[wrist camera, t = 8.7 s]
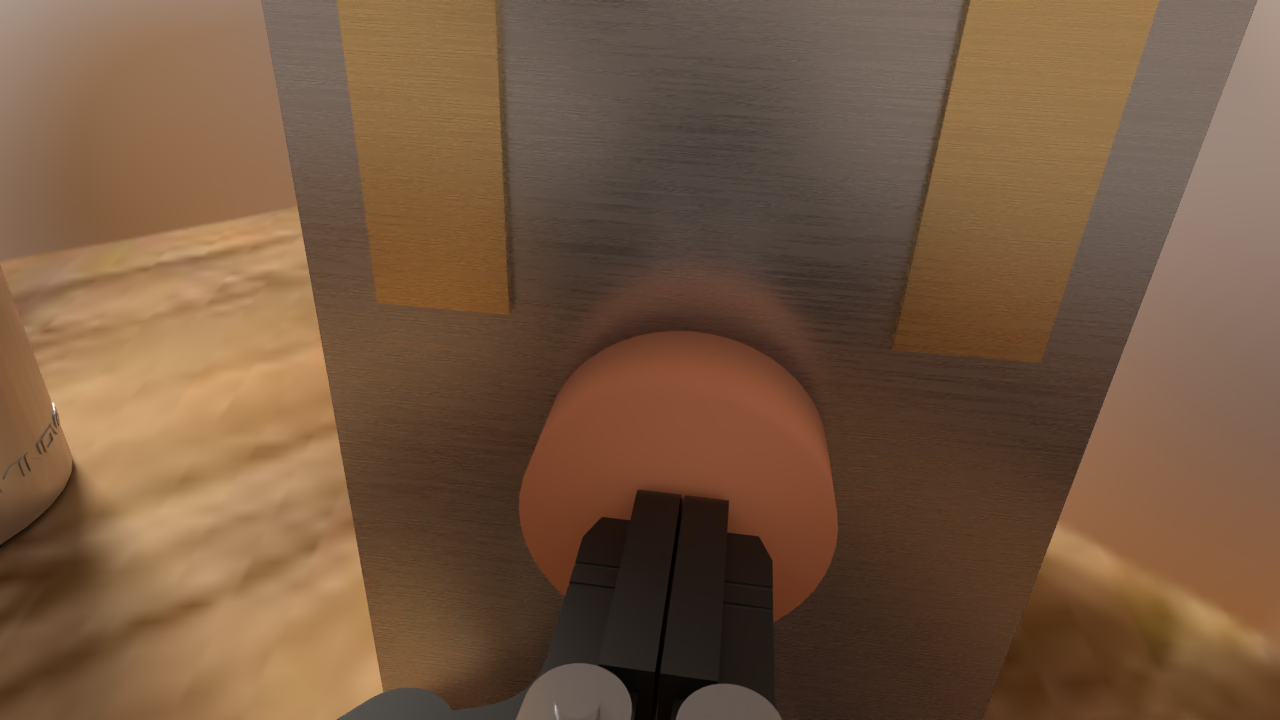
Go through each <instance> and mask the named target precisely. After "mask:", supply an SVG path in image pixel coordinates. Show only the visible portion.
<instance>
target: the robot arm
mask: <svg viewBox="0 0 1280 720" xmlns="http://www.w3.org/2000/svg"><path fill="white" fill-rule="evenodd" d="M71 472H72V455H71V452H70V449H69V447H68V444H67V441H66V439H65V436H64V434H63V431H62V428H61V426H60V421H59V415H58V413H57V410H56V407H55V405H54V402H53V403H52V401H51V399H50V396H49V394H48V391H47V388H46V386H45V383H44V381H43V378H42V375H41V373H40V370H39V368H38V365H37V362H36V358H35V356H34V353H33V350H32V348H31V345H30V343H29V340H28V337H27V335H26V332H25V329H24V327H23V324H22V321H21V319H20V316H19V314H18V311H17V308H16V306H15V303H14V300H13V298H12V295H11V292H10V290H9V287H8V285H7V282H6V279H5V277H4V274H3V271H2V269H1V266H0V545H1V544H2V543H4V542H5V541H7V540H8V539H10V538H11V537H13V536H14V535H15V534H17V533H18V532H20V531H21V530H23V529H24V528H26V527H27V526H28V525H30V524H31V523H32V522H33V521H34V520H35V519H36V518H38V517H39V516H40V515H41V514H42V513H43V512H44V511H46V510H47V509H48V508H49V507H50V506H51V504H52V503H53V502H54V501H55V499H56V498H57V497H58V496H59V494H60V493H61V492H62V491H63V490H64V488H65V486H66V484H67V481H68V479H69V477H70V475H71ZM680 509H681V494H673V493H665V492H657V491H648V490H640V489H638V490H637V493H636V497H635V501H634V506H633V510H632V515H631V519H630V520H624V519H616V518H608V517H601V518H600V519H599V520H598V521H597V522H596V523H595V524H594V525H593V526H592V527H591V529H590V530H589V531H588V532H587V533H586V534H585V535H584V536H583V537H582V541H581V544H580V547H579V551H578V554H577V558H576V561H575V566H574V568H573V571H572V574H571V578H570V581H569V586H568V588H567V591H566V594H565V598H564V601H563V604H562V608H561V611H560V615H559V618H558V621H557V625H556V628H555V631H554V635H553V638H552V641H551V645H550V648H549V651H548V655H547V658H546V661H545V664H544V666H543V669H542V670H541V672H540V673H539V675H538V676H537V678H536V679H535V680H534V681H533V682H532V683H531V684H530V685H529V686H528V687H527V688H526V689H525V690H523V691H522V692H520V693H519V694H517V695H515V696H513V697H511V698H509V699H507V700H505V701H502V702H499V703H496V704H491V705H487V706H480V707H474V708H467V709H460V710H454V711H452V710H451V708H450V707H449V705H448V704H447V702H445V701H444V700H443V699H442V698H441V697H440V696H438V695H436V694H435V693H433V692H430V691H428V690H424V689H419V688H399V689H394V690H390V691H387V692H384V693H381V694H379V695H377V696H375V697H373V698H371V699H369V700H368V701H366V702H364V703H363V704H361V705H359V706H358V707H356V708H355V709H353V710H351V711H350V712H348V713H347V714H345V715H343V716H342V717H340V718H338V719H337V720H656V713H657V720H782V718H781V716H780V714H779V712H778V709H777V706H776V702H775V693H774V626H773V561H772V559H771V557H770V555H769V553H768V552H767V550H766V548H765V546H764V544H763V543H762V541H761V539H760V537H759V536H752V535H744V534H736V533H728V532H727V529H728V512H729V500H722V499H714V498H705V497H697V496H689V495H685V499H684V506H683V513H682V520H681V527H680V534H679V542H678V532H679V521H680ZM677 544H678V549H677ZM657 706H658V707H657Z"/></svg>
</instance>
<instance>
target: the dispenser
mask: <svg viewBox="0 0 1280 720" xmlns="http://www.w3.org/2000/svg"><path fill="white" fill-rule="evenodd" d="M261 1H262V6H263V12H264V18H265V23H266V29H267V35H268V40H269V46H270V52H271V58H272V63H273V69H274V75H275V80H276V86H277V92H278V97H279V103H280V109H281V114H282V120H283V126H284V132H285V137H286V143H287V149H288V153H289V160H290V166H291V171H292V177H293V182H294V188H295V194H296V199H297V205H298V211H299V217H300V222H301V228H302V234H303V239H304V245H305V251H306V256H307V262H308V268H309V273H310V279H311V285H312V290H313V296H314V302H315V307H316V313H317V319H318V324H319V330H320V336H321V341H322V347H323V353H324V358H325V364H326V370H327V375H328V381H329V387H330V392H331V398H332V404H333V409H334V415H335V421H336V426H337V432H338V438H339V443H340V449H341V455H342V460H343V466H344V472H345V477H346V483H347V489H348V495H349V500H350V506H351V512H352V517H353V523H354V529H355V534H356V540H357V546H358V551H359V557H360V563H361V568H362V574H363V580H364V585H365V591H366V597H367V602H368V608H369V614H370V619H371V625H372V631H373V636H374V642H375V648H376V653H377V659H378V665H379V670H380V676H381V682H382V687H383V693H384V692H387V691H390V690H394V689H399V688H419V689H424V690H428V691H430V692H433V693H435V694H436V695H438V696H440V697H441V698H442V699H443V700H444V701H445V702H447V704H448V705H449V707H450V708H451V710H452V711H454V710H460V709H467V708H474V707H480V706H487V705H491V704H496V703H499V702H502V701H505V700H507V699H509V698H511V697H513V696H515V695H517V694H519V693H520V692H522V691H523V690H525V689H526V688H527V687H528V686H529V685H530V684H531V683H532V682H533V681H534V680H535V679H536V678H537V676H538V675H539V673H540V672H541V670H542V669H543V666H544V664H545V661H546V658H547V655H548V651H549V648H550V645H551V641H552V638H553V635H554V631H555V628H556V625H557V621H558V618H559V615H560V611H561V608H562V604H563V601H564V598H565V596H564V595H563V594H562V593H561V592H560V591H559V590H558V589H556V588H555V587H554V586H553V585H552V584H551V582H550V581H549V580H548V579H547V577H546V576H545V575H544V574H543V573H542V571H541V570H540V568H539V567H538V565H537V564H536V562H535V560H534V559H533V557H532V555H531V553H530V551H529V549H528V546H527V544H526V542H525V539H524V535H523V532H522V528H521V523H520V515H519V497H520V490H521V486H522V481H523V477H524V475H525V472H526V470H527V467H528V465H529V462H530V460H531V457H532V455H533V452H534V450H535V447H536V445H537V443H538V440H539V438H540V435H541V433H542V430H543V428H544V425H545V423H546V420H547V418H548V416H549V413H550V411H551V408H552V406H553V403H554V401H555V398H556V397H557V395H558V393H559V392H560V390H561V388H562V387H563V385H564V384H565V382H566V381H567V380H568V379H569V377H570V376H571V375H572V374H573V373H574V371H576V370H577V369H578V368H579V367H580V366H581V365H582V364H583V363H584V362H585V361H587V360H588V359H590V358H591V357H593V356H594V355H595V354H597V353H598V352H600V351H602V350H604V349H606V348H608V347H610V346H612V345H614V344H616V343H618V342H621V341H624V340H627V339H629V338H632V337H635V336H640V335H645V334H650V333H655V332H667V331H694V332H701V333H707V334H714V335H718V336H721V337H725V338H729V339H732V340H735V341H738V342H740V343H743V344H745V345H747V346H750V347H752V348H754V349H756V350H758V351H759V352H761V353H763V354H765V355H767V356H768V357H770V358H771V359H773V360H774V361H775V362H777V363H778V364H780V365H781V366H782V367H784V368H785V369H786V370H787V371H788V372H789V373H790V374H791V375H792V376H793V377H794V378H795V379H796V380H797V381H798V382H799V383H800V384H801V386H802V387H803V388H804V389H805V391H806V392H807V393H808V395H809V396H810V398H811V400H812V401H813V403H814V405H815V407H816V408H817V410H818V413H819V415H820V418H821V420H822V423H823V426H824V431H825V435H826V440H827V446H828V453H829V460H830V467H831V474H832V481H833V488H834V495H835V502H836V509H837V521H838V534H837V542H836V548H835V551H834V554H833V558H832V561H831V563H830V565H829V567H828V569H827V572H826V574H825V576H824V577H823V579H822V580H821V582H820V583H819V584H818V586H817V587H816V589H815V590H814V591H813V592H812V593H811V594H810V595H809V596H808V597H807V598H806V599H805V600H804V601H803V602H802V603H801V604H800V605H799V606H797V607H796V608H795V609H794V610H792V611H791V612H790V613H788V614H787V615H785V616H783V617H782V618H780V619H778V620H777V621H775V622H773V626H774V693H775V702H776V706H777V709H778V712H779V714H780V716H781V718H782V720H982V718H983V716H984V713H985V710H986V708H987V705H988V703H989V700H990V697H991V695H992V692H993V690H994V687H995V684H996V682H997V679H998V677H999V674H1000V671H1001V669H1002V666H1003V663H1004V661H1005V658H1006V656H1007V653H1008V650H1009V648H1010V645H1011V643H1012V640H1013V637H1014V635H1015V632H1016V630H1017V627H1018V624H1019V622H1020V619H1021V616H1022V614H1023V611H1024V609H1025V606H1026V603H1027V601H1028V598H1029V596H1030V593H1031V590H1032V588H1033V585H1034V583H1035V580H1036V577H1037V575H1038V572H1039V569H1040V567H1041V564H1042V562H1043V559H1044V556H1045V554H1046V551H1047V549H1048V546H1049V543H1050V541H1051V538H1052V535H1053V533H1054V530H1055V528H1056V525H1057V522H1058V520H1059V517H1060V514H1061V512H1062V509H1063V507H1064V504H1065V501H1066V499H1067V496H1068V494H1069V491H1070V488H1071V486H1072V483H1073V481H1074V478H1075V475H1076V473H1077V470H1078V468H1079V465H1080V462H1081V460H1082V457H1083V455H1084V452H1085V449H1086V447H1087V444H1088V441H1089V439H1090V436H1091V434H1092V431H1093V428H1094V426H1095V423H1096V421H1097V418H1098V415H1099V413H1100V410H1101V408H1102V405H1103V402H1104V400H1105V397H1106V394H1107V392H1108V389H1109V387H1110V384H1111V381H1112V379H1113V376H1114V374H1115V371H1116V368H1117V366H1118V363H1119V360H1120V358H1121V355H1122V353H1123V350H1124V347H1125V345H1126V342H1127V339H1128V337H1129V334H1130V332H1131V329H1132V327H1133V324H1134V321H1135V319H1136V316H1137V313H1138V311H1139V308H1140V306H1141V303H1142V300H1143V298H1144V295H1145V292H1146V290H1147V287H1148V285H1149V282H1150V279H1151V277H1152V274H1153V272H1154V269H1155V266H1156V264H1157V261H1158V259H1159V256H1160V253H1161V251H1162V248H1163V246H1164V243H1165V240H1166V237H1167V235H1168V233H1169V230H1170V227H1171V225H1172V222H1173V219H1174V217H1175V214H1176V212H1177V209H1178V206H1179V204H1180V201H1181V198H1182V196H1183V193H1184V191H1185V188H1186V185H1187V183H1188V180H1189V178H1190V175H1191V172H1192V170H1193V167H1194V165H1195V162H1196V159H1197V157H1198V154H1199V151H1200V149H1201V146H1202V144H1203V141H1204V138H1205V136H1206V133H1207V131H1208V128H1209V125H1210V123H1211V120H1212V117H1213V115H1214V112H1215V110H1216V107H1217V104H1218V102H1219V99H1220V97H1221V94H1222V91H1223V89H1224V86H1225V84H1226V81H1227V78H1228V76H1229V73H1230V71H1231V68H1232V65H1233V63H1234V60H1235V57H1236V55H1237V52H1238V50H1239V47H1240V44H1241V42H1242V39H1243V36H1244V34H1245V31H1246V29H1247V26H1248V24H1249V21H1250V18H1251V16H1252V13H1253V10H1254V8H1255V5H1256V3H1257V0H261ZM657 707H658V706H657ZM656 720H657V713H656Z"/></svg>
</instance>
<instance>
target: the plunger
mask: <svg viewBox="0 0 1280 720" xmlns="http://www.w3.org/2000/svg"><path fill="white" fill-rule="evenodd" d="M638 489H640V490H648V491H657V492H665V493H673V494H681V509H680V521H679V532H678V542H679V534H680V527H681V520H682V513H683V506H684V499H685V495H689V496H697V497H705V498H714V499H722V500H729V512H728V529H727V532H728V533H736V534H744V535H752V536H759V537H760V539H761V541H762V543H763V544H764V546H765V548H766V550H767V552H768V553H769V555H770V557H771V559H772V561H773V622H775V621H777V620H778V619H780V618H782V617H783V616H785V615H787V614H788V613H790V612H791V611H792V610H794V609H795V608H796V607H797V606H799V605H800V604H801V603H802V602H803V601H804V600H805V599H806V598H807V597H808V596H809V595H810V594H811V593H812V592H813V591H814V590H815V589H816V587H817V586H818V584H819V583H820V582H821V580H822V579H823V577H824V576H825V574H826V572H827V569H828V567H829V565H830V563H831V561H832V558H833V554H834V551H835V548H836V542H837V534H838V521H837V509H836V502H835V495H834V488H833V481H832V474H831V467H830V460H829V453H828V446H827V440H826V435H825V431H824V426H823V423H822V420H821V418H820V415H819V413H818V410H817V408H816V407H815V405H814V403H813V401H812V400H811V398H810V396H809V395H808V393H807V392H806V391H805V389H804V388H803V387H802V386H801V384H800V383H799V382H798V381H797V380H796V379H795V378H794V377H793V376H792V375H791V374H790V373H789V372H788V371H787V370H786V369H785V368H784V367H782V366H781V365H780V364H778V363H777V362H775V361H774V360H773V359H771V358H770V357H768V356H767V355H765V354H763V353H761V352H759V351H758V350H756V349H754V348H752V347H750V346H747V345H745V344H743V343H740V342H738V341H735V340H732V339H729V338H725V337H721V336H718V335H714V334H707V333H701V332H694V331H667V332H655V333H650V334H645V335H640V336H635V337H632V338H629V339H627V340H624V341H621V342H618V343H616V344H614V345H612V346H610V347H608V348H606V349H604V350H602V351H600V352H598V353H597V354H595V355H594V356H593V357H591V358H590V359H588V360H587V361H585V362H584V363H583V364H582V365H581V366H580V367H579V368H578V369H577V370H576V371H574V373H573V374H572V375H571V376H570V377H569V379H568V380H567V381H566V382H565V384H564V385H563V387H562V388H561V390H560V392H559V393H558V395H557V397H556V398H555V401H554V403H553V406H552V408H551V411H550V413H549V416H548V418H547V420H546V423H545V425H544V428H543V430H542V433H541V435H540V438H539V440H538V443H537V445H536V447H535V450H534V452H533V455H532V457H531V460H530V462H529V465H528V467H527V470H526V472H525V475H524V477H523V481H522V486H521V490H520V497H519V515H520V523H521V528H522V532H523V535H524V539H525V542H526V544H527V546H528V549H529V551H530V553H531V555H532V557H533V559H534V560H535V562H536V564H537V565H538V567H539V568H540V570H541V571H542V573H543V574H544V575H545V576H546V577H547V579H548V580H549V581H550V582H551V584H552V585H553V586H554V587H555V588H556V589H558V590H559V591H560V592H561V593H562V594H563V595H564V596H565V594H566V591H567V588H568V586H569V581H570V578H571V574H572V571H573V568H574V566H575V561H576V558H577V554H578V551H579V547H580V544H581V541H582V537H583V536H584V535H585V534H586V533H587V532H588V531H589V530H590V529H591V527H592V526H593V525H594V524H595V523H596V522H597V521H598V520H599V519H600V518H601V517H608V518H616V519H624V520H630V519H631V515H632V510H633V506H634V501H635V497H636V493H637V490H638ZM677 549H678V544H677Z"/></svg>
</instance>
